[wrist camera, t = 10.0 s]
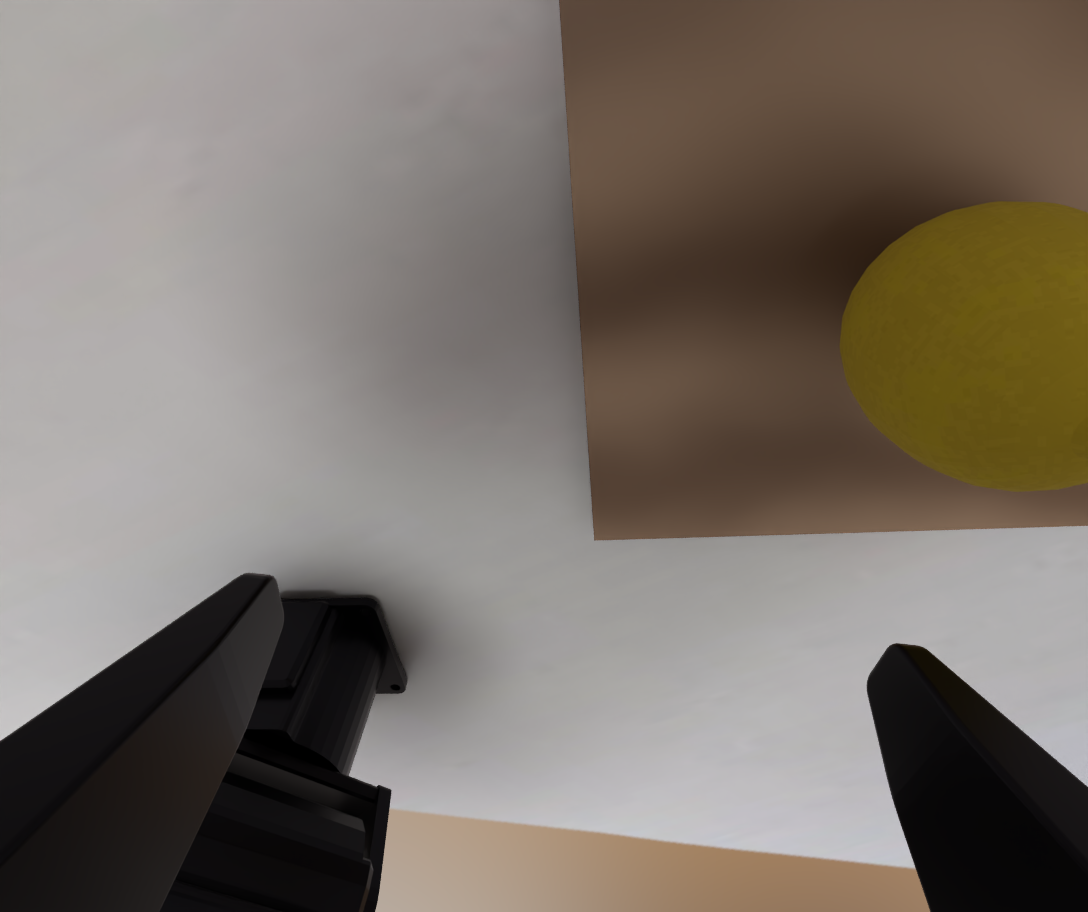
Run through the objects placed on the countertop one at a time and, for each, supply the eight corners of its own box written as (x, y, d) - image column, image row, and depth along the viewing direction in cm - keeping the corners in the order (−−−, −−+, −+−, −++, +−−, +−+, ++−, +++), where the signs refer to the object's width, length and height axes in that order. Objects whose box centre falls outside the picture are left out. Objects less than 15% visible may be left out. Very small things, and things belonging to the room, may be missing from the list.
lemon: (761, 276, 16) (882, 428, 9) (971, 119, 14) (1328, 175, 7) (857, 409, 18) (1011, 610, 12) (1054, 292, 16) (1388, 461, 9)
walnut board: (1099, 506, 21) (1120, 524, 20) (594, 522, 23) (594, 540, 22) (1526, -251, 11) (1603, -275, 10) (553, -108, 13) (551, -119, 12)
